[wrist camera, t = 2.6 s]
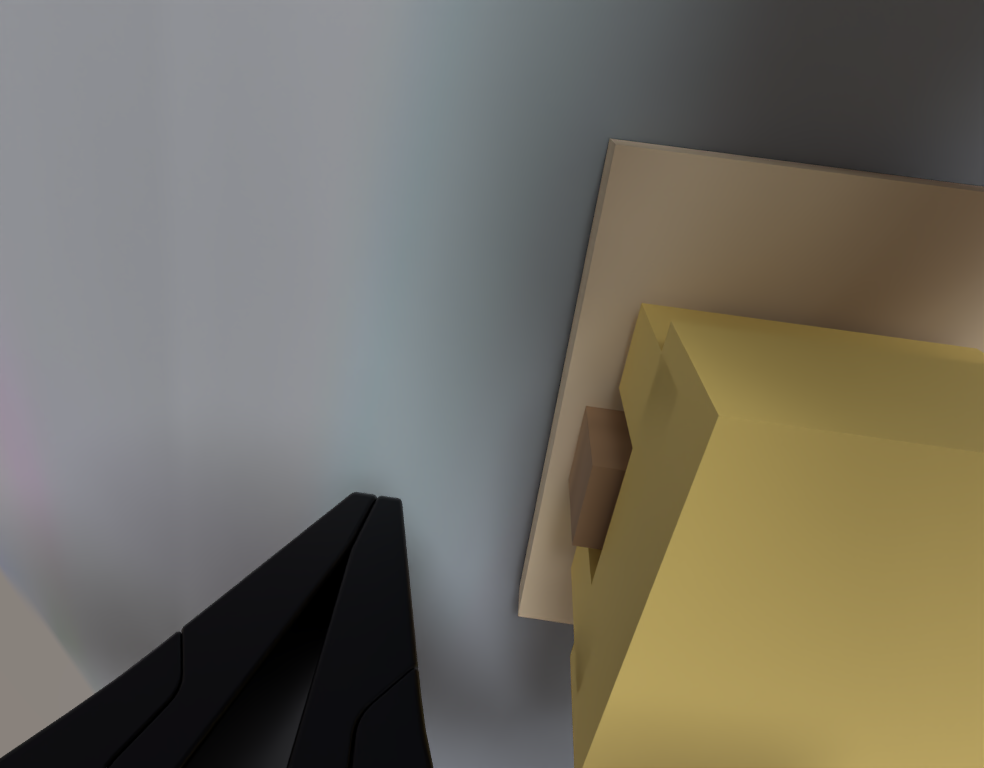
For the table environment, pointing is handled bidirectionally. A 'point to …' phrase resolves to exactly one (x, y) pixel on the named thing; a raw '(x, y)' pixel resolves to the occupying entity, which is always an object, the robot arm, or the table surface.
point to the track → (735, 298)
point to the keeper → (787, 554)
